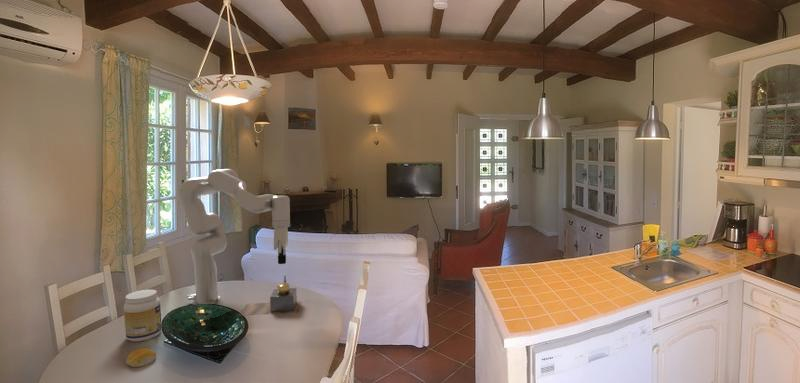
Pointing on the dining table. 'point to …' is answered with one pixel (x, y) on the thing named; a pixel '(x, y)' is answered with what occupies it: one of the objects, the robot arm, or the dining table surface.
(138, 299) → the supplement tub
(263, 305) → the mount plate
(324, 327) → the dining table surface
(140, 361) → the bread roll
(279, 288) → the brass pin
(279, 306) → the hitch block
